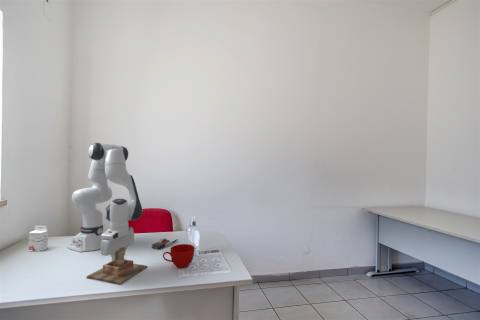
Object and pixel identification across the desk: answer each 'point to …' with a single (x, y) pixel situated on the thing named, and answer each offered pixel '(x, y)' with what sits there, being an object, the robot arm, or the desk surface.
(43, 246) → the ink cartridge box
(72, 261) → the desk surface
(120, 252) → the wooden peg
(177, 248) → the ceramic cup
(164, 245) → the walkie-talkie
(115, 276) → the wooden peg socket board
